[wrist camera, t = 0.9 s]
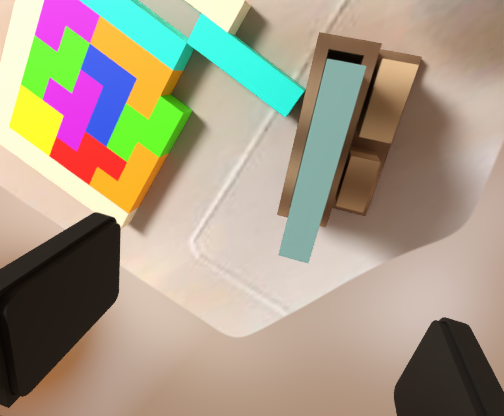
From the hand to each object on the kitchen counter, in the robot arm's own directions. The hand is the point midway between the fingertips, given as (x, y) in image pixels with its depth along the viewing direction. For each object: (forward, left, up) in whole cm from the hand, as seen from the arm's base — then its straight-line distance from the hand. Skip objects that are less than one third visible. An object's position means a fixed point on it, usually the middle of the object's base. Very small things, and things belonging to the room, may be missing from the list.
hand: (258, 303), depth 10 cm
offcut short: (+3, +5, -27) cm, 28 cm away
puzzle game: (+1, -20, -29) cm, 35 cm away
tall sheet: (-1, +1, -27) cm, 27 cm away
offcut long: (-5, +5, -27) cm, 28 cm away
